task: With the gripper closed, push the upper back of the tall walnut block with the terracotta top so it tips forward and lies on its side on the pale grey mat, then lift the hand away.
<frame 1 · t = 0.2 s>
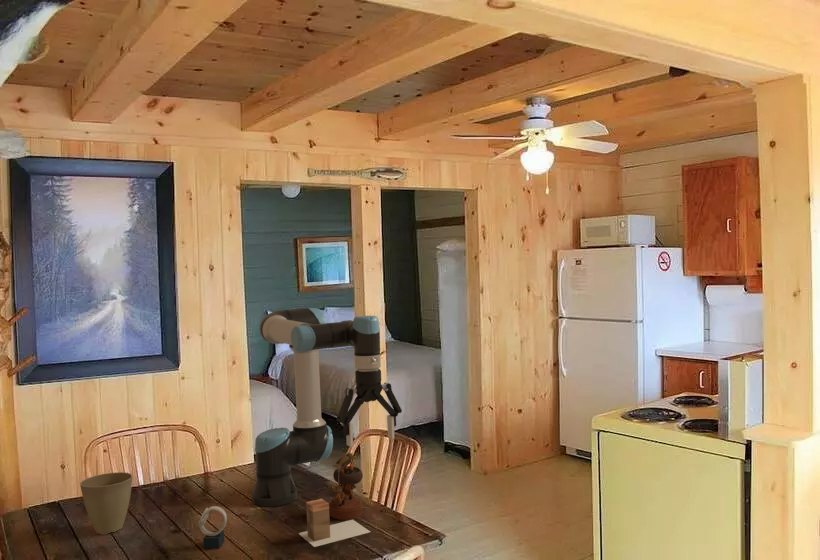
hand: (370, 442, 198), 28 cm above the table, tool pointing down, fingers open, 13 cm apart
walnut block: (318, 536, 200), resting on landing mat
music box: (347, 514, 218), on the table
plant pot: (109, 530, 212), on the table
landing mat: (334, 533, 202), on the table
watch: (213, 545, 197), on the table
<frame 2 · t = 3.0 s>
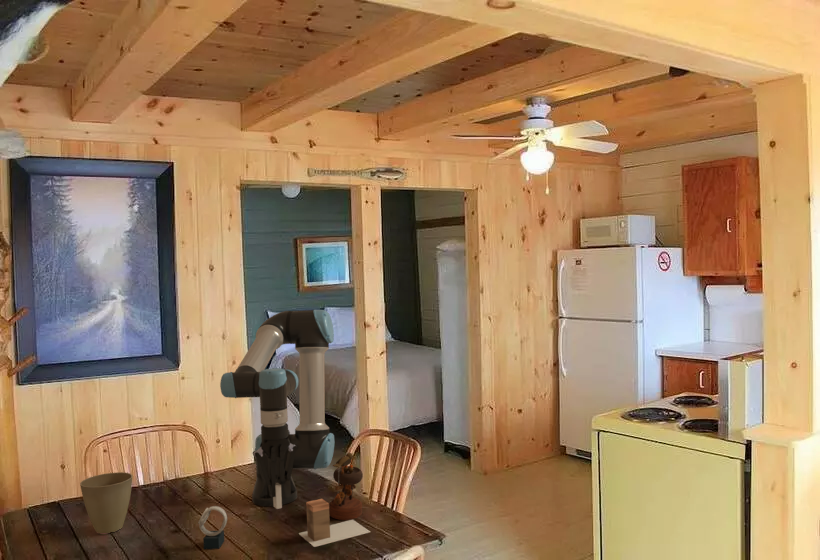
hand: (277, 507, 193), 12 cm above the table, tool pointing down, fingers closed
nothing on the table moved.
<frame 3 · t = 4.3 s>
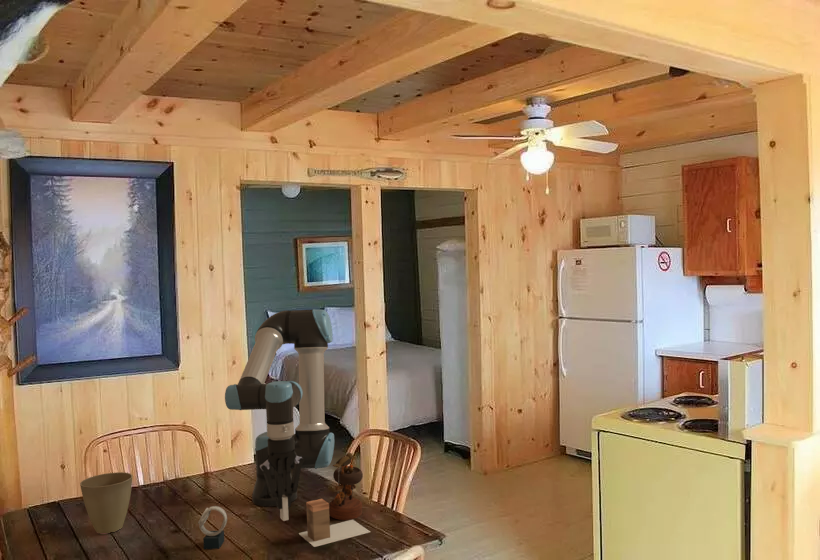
hand: (284, 518, 194), 8 cm above the table, tool pointing down, fingers closed
nothing on the table moved.
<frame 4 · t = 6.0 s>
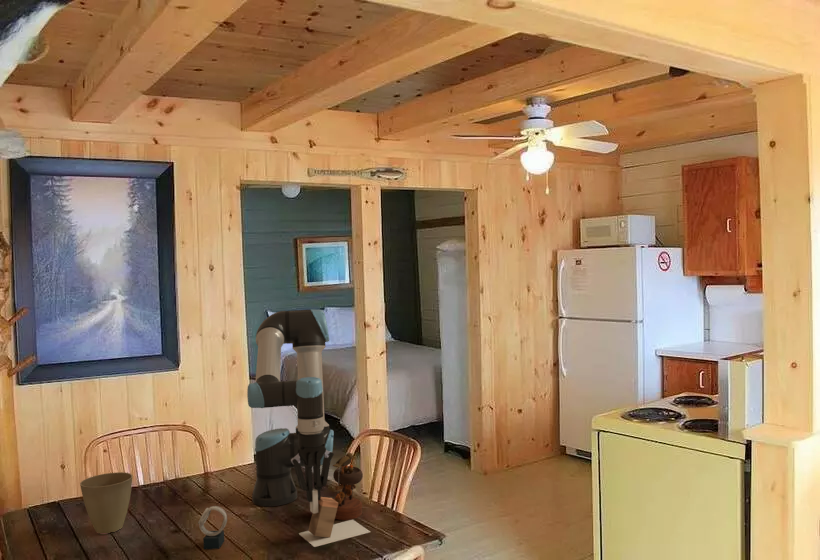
hand: (314, 511, 199), 8 cm above the table, tool pointing down, fingers closed
walnut block: (319, 533, 200), point 1 cm above the table, tilted 18°, touching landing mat
everything else where it was.
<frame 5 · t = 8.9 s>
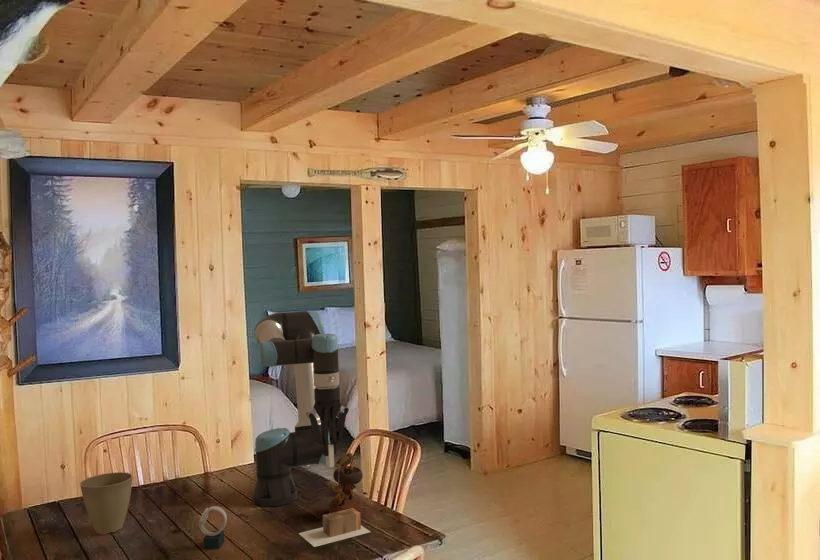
hand: (330, 465, 201), 20 cm above the table, tool pointing down, fingers closed
walnut block: (326, 526, 201), point 3 cm above the table, tilted 90°, touching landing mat
everything else where it was.
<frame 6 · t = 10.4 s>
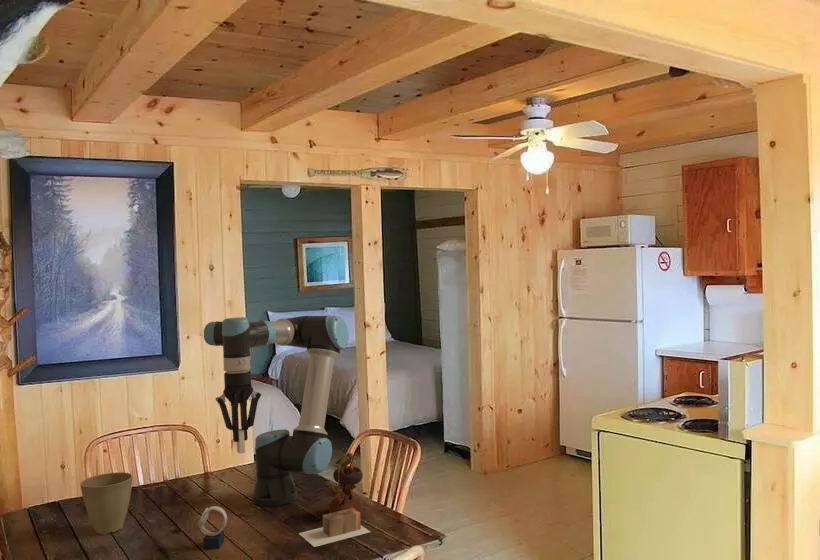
hand: (241, 452, 198), 26 cm above the table, tool pointing down, fingers closed
nothing on the table moved.
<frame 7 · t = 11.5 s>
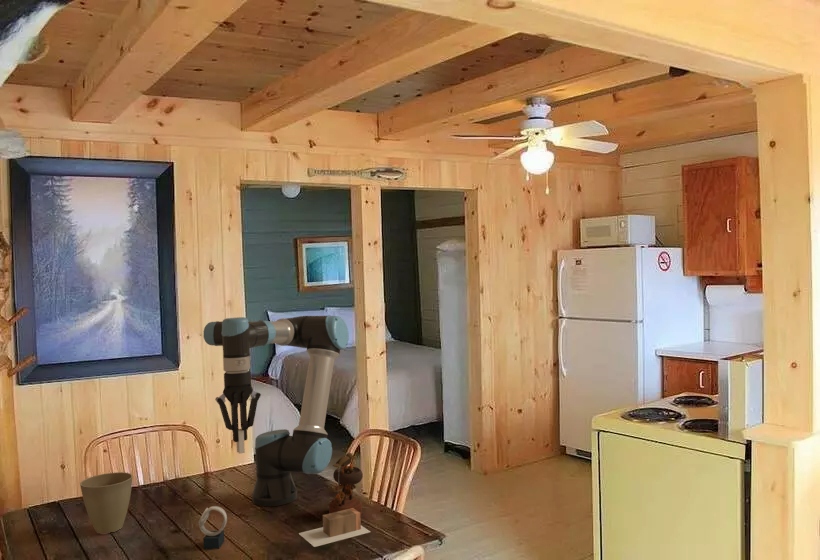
hand: (240, 452, 198), 26 cm above the table, tool pointing down, fingers closed
nothing on the table moved.
at the end: walnut block tilted 90°; walnut block inside the target area (2.5 cm from its centre), point 2.8 cm above the table; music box moved 0.2 cm from its start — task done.
